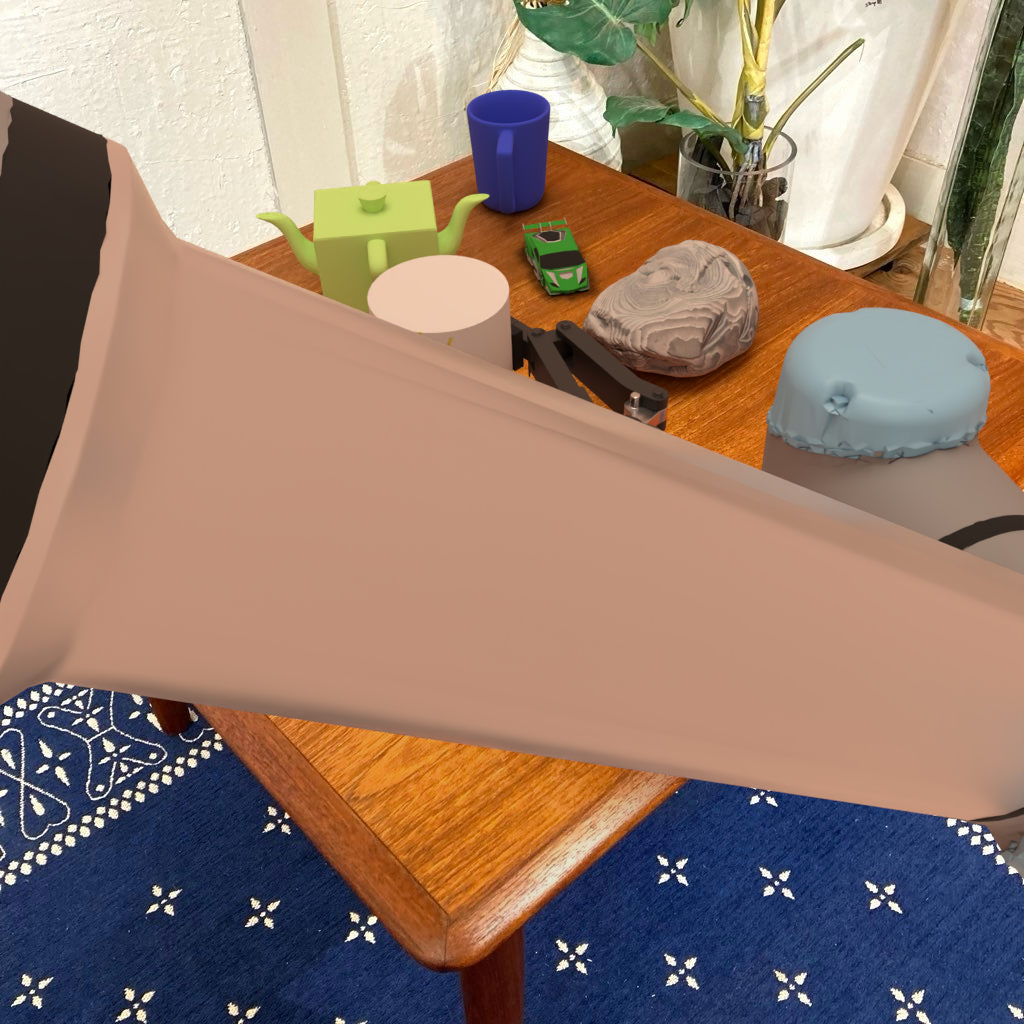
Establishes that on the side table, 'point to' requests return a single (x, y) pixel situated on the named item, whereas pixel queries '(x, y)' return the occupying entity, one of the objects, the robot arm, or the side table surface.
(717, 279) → the decorative stone
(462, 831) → the side table surface
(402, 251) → the teapot
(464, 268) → the doodled pink cylinder
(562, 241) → the toy car
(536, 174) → the mug
